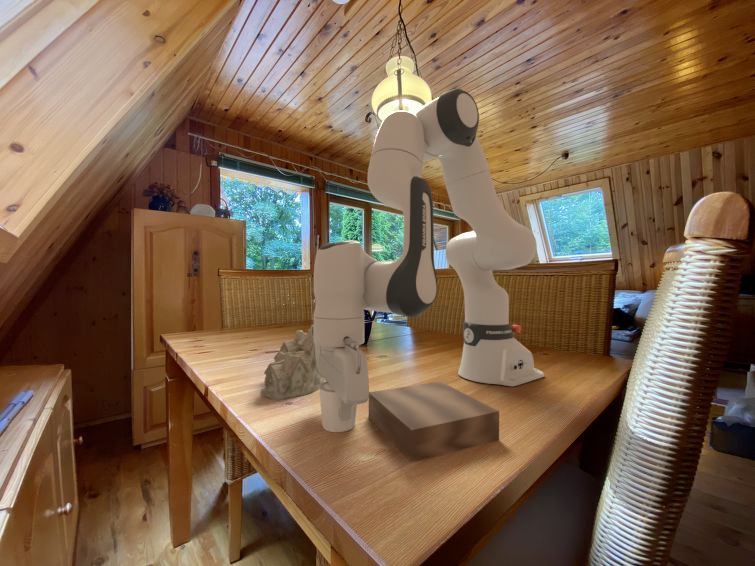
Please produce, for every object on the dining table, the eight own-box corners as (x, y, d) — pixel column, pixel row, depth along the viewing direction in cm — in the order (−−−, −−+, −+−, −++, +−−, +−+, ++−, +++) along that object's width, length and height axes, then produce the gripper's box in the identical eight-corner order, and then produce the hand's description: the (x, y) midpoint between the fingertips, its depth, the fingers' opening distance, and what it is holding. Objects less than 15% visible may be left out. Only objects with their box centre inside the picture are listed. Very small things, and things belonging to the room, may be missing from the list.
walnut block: (440, 405, 65) (440, 381, 65) (499, 442, 50) (499, 411, 50) (368, 419, 58) (368, 392, 58) (411, 465, 44) (411, 430, 44)
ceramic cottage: (301, 371, 87) (299, 317, 86) (336, 388, 75) (335, 326, 74) (244, 387, 77) (241, 326, 75) (274, 410, 65) (271, 339, 63)
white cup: (352, 436, 51) (352, 393, 51) (312, 431, 52) (312, 390, 52) (362, 418, 58) (362, 380, 58) (327, 414, 59) (327, 377, 59)
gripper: (379, 342, 47) (379, 434, 47) (340, 324, 65) (339, 390, 66) (338, 345, 44) (338, 443, 44) (309, 326, 63) (309, 394, 63)
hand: (339, 411), depth 55 cm, fingers closed on white cup, 5 cm apart
